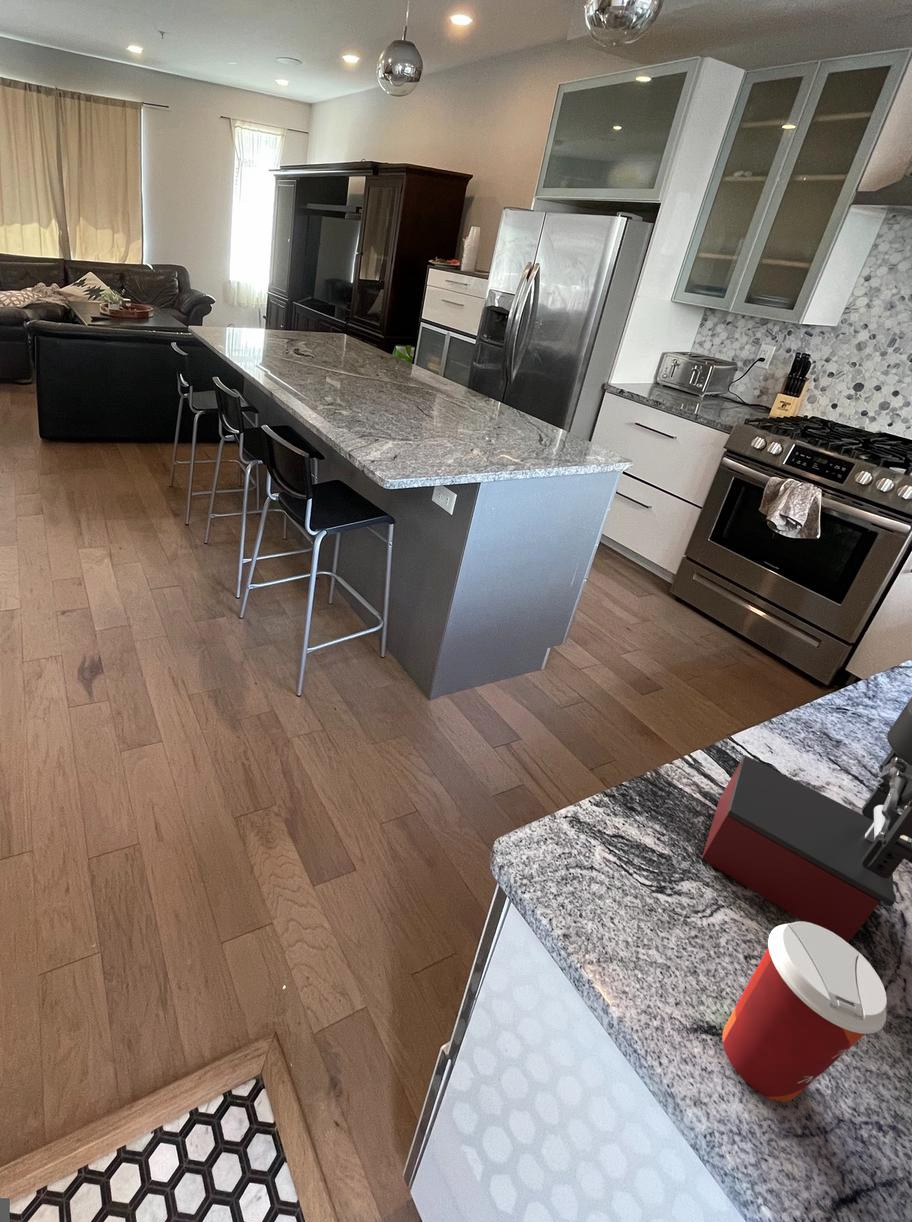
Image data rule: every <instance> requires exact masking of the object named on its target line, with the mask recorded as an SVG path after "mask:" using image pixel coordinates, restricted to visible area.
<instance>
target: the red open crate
mask: <svg viewBox="0 0 912 1222" xmlns="http://www.w3.org/2000/svg"><path fill="white" fill-rule="evenodd" d="M741 761H742V759H740V762H739V763H738V765H737V767H736V769H735V770H734V772H733V774H732V775H731V778H730V779H729V781H728V783H727V785H726V786H725V789H724V790H723V792H722V794H721V795H720V797H719V799H718V802H717V806H716V809H715V812H714V817H713V819H712V823H711V826H710V830H709V833H708V836H707V840H706V842H705V846H704V850H703V854H702V856H701V859H702V860H703V861H704V862H706V863H708V864H709V865H711V866H712V867H713V868H716V869H717V870H719V871H721V872H722V873H724V874H726V875H727V876H729V877H730V878H732V879H734V880H735V881H737V882H739V883H740V884H742V885H743V886H745V887H747V888H748V889H750V890H752V891H753V892H755V893H757V894H758V895H760V896H761V897H763V898H764V899H766V900H768V901H769V902H771V903H772V904H774V905H776V906H778V907H779V908H781V909H782V910H784V911H786V912H787V913H789V914H791V915H792V916H793V917H796V918H797V919H799V921H800V920H801V922H808V923H812V924H815V925H818V926H820V927H823V928H825V929H827V930H829V931H831V932H833V933H834V934H836V935H837V936H839V937H841V938H842V939H843V940H844V941H846V942H847V943H848V944H849V942H851V940H852V939H853V937H854V936H855V935H856V934H857V932H858V931H859V930H860V929H861V927H862V926H863V924H865V922H866V921H867V920H868V918H869V917H870V915H872V913H873V912H874V910H875V909H876V908H877V907H878V905H879V904H880V902H881V901H879V900H878V899H876V898H874V897H872V896H871V895H869V894H867V893H865V892H863V891H862V890H860V889H858V888H856V887H855V886H853V885H851V884H849V883H847V882H846V881H844V880H842V879H840V878H839V877H837V876H835V875H833V874H831V873H830V872H828V871H826V870H824V869H823V868H821V867H819V866H817V865H815V864H814V863H812V862H810V861H808V860H806V859H805V858H803V857H801V856H799V855H798V854H796V853H794V852H792V851H790V850H789V849H787V848H785V847H783V846H782V845H780V844H778V843H776V842H774V841H773V840H771V839H769V838H767V837H766V836H764V835H762V834H760V833H758V832H757V831H755V830H753V829H751V828H750V827H748V826H746V825H744V824H742V823H741V822H739V821H737V820H735V819H734V818H732V817H730V816H728V815H727V813H728V809H729V806H730V802H731V798H732V795H733V791H734V787H735V784H736V780H737V776H738V772H739V769H740V765H741Z"/></svg>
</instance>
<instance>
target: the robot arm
mask: <svg viewBox="0 0 912 1222" xmlns="http://www.w3.org/2000/svg"><path fill="white" fill-rule="evenodd" d="M886 739H887V742H888V745H889V746H890V749H891V750H890V752H889V753H888V754H887V755H886V756H885V758H884V760H883V761H882V762H881V763H880V764H879V766H878V768H879V769H878V772H879V773H881V774H880V775H879V776H878V777H877V778H876V779H875V781H876V783H875V784H876V787H875V788H874V789H873V791H872V792H871V794H870V795H869V797H868V799H867V800H866V801H865V803H864V804H863V805H862V808H861V814H862V815H864V816H865V817H867V818H869V819H871V820H873V821H874V808H875V807H876V806H878V805H884V806H883V809H882V814H883V816H884V817H885V822H884V824H883V827H882V829H881V831H880V832H879V834H878V837H877V838H876V840H875V841H874V842H873V844H872V845H871V847H870V848H869V849H868V851H867V852H866V853H865V855H864V856H863V858H862V865H863V867H864V868H866V869H868V870H870V871H871V872H873V873H875V874H877V875H879V876H880V877H883V878H889V877H890V876H891V875H892V874H893V875H894V872H895V871H896V870H897V869H898V867H899V866H900V865H901V863H902V862H903V860H905V861H907V862H909V863H910V864H912V696H911V697H910V699H909V701H908V702H906V705H905V706H904V708H902V710H901V712H900V714H899V715H898V717H896V720H895V721H894V723H893V724H892V725H891V727H890V729H888V732H887V734H886ZM898 809H899V810H902V813H899V812H898ZM902 836H905V837H907V840H906V839H904V838H903V837H902Z"/></svg>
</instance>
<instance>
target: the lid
mask: <svg viewBox="0 0 912 1222" xmlns="http://www.w3.org/2000/svg"><path fill="white" fill-rule="evenodd" d="M741 760H742V761H741ZM741 760H740V762H741V765H740V769H739V772H738V776H737V780H736V784H735V787H734V791H733V795H732V798H731V802H730V806H729V809H728V813H727V815H728V816H730V817H732V818H734V819H735V820H737V821H739V822H741V823H742V824H744V825H746V826H748V827H750V828H751V829H753V830H755V831H757V832H758V833H760V834H762V835H764V836H766V837H767V838H769V839H771V840H773V841H774V842H776V843H778V844H780V845H782V846H783V847H785V848H787V849H789V850H790V851H792V852H794V853H796V854H798V855H799V856H801V857H803V858H805V859H806V860H808V861H810V862H812V863H814V864H815V865H817V866H819V867H821V868H823V869H824V870H826V871H828V872H830V873H831V874H833V875H835V876H837V877H839V878H840V879H842V880H844V881H846V882H847V883H849V884H851V885H853V886H855V887H856V888H858V889H860V890H862V891H863V892H865V893H867V894H869V895H871V896H872V897H874V898H876V899H878V900H879V901H880V902H881V903H883V904H885V905H886V906H887V907H892V906H893V905H894V904H895V893H894V892H895V890H894V889H895V888H894V873H893V874H892V875H891V876H890V877H889V878H883V877H880V876H879V875H877V874H875V873H873V872H871V871H870V870H868V869H866V868H864V867H863V865H862V858H863V856H864V855H865V853H866V852H867V851H868V849H869V848H870V847H871V845H872V844H873V842H874V841H875V840H876V838H877V837H878V834H879V832H880V831H881V829H882V827H883V824H884V822H885V817H884V816H883V814H882V809H883V806H884V805H878V806H876V807H875V808H874V821H873V820H871V819H869V818H867V817H865V816H864V815H863V814H862V813H861V812H858V811H857V810H854V809H853V808H850V807H848V806H847V805H844V804H842V803H840V802H839V801H837V800H834V799H833V798H831V797H829V796H828V795H827V796H826V795H825V794H823V793H821V792H819V791H818V790H815V789H813V788H811V787H809V786H807V785H806V784H803V783H802V782H799V781H797V780H795V779H794V778H791V777H790V776H788V775H786V774H783V773H781V772H780V771H777V770H776V769H773V768H772V767H770V766H768V765H766V764H764V763H762V762H761V761H759V760H758V761H757V760H756V759H754V758H752V757H750V756H748V755H746V754H744V755H743V756H742V758H741Z"/></svg>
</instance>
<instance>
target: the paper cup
mask: <svg viewBox="0 0 912 1222" xmlns="http://www.w3.org/2000/svg"><path fill="white" fill-rule="evenodd" d="M749 979H750V980H749V981H748V983H747V985H746V986H745V989H744V990H743V992H742V994H741V996H740V998H739V999H738V1001H737V1003H736V1004H735V1007H734V1008H733V1011H732V1012H731V1014H730V1016H729V1018H728V1020H727V1022H726V1024H725V1025H724V1028H723V1030H722V1035H721V1036H722V1037H721V1038H722V1046H723V1048H724V1052H725V1054H726V1056H727V1059H728V1061H729V1062H730V1064H731V1066H732V1067H733V1069H734V1070H735V1071H736V1073H737V1074H738V1075H739V1076H740V1077H741V1079H742V1080H743V1081H744V1082H745V1083H746V1084H747V1085H748V1086H750V1087H751V1088H752V1089H753V1090H754V1091H755V1092H757V1093H758V1094H760V1095H762V1096H763V1097H765V1098H767V1099H769V1100H772V1101H775V1102H780V1103H781V1102H782V1103H785V1102H790V1101H791V1100H793V1099H794V1098H795V1097H797V1096H798V1095H799V1094H801V1092H803V1091H804V1090H805V1089H807V1088H808V1087H809V1086H810V1085H811V1084H812V1083H813V1082H814V1081H815V1080H816V1079H818V1078H819V1077H820V1076H821V1075H822V1074H823V1073H824V1072H826V1070H828V1069H829V1068H830V1067H831V1066H832V1065H834V1063H836V1061H838V1060H839V1059H840V1058H841V1057H842V1056H843V1055H844V1054H846V1052H848V1050H850V1049H851V1048H852V1047H853V1046H854V1045H855V1044H856V1043H858V1042H859V1041H860V1040H861V1039H862V1038H863V1037H864V1036H865V1035H866V1034H867V1035H869V1034H874V1033H877V1032H879V1031H881V1029H882V1028H883V1027H884V1026H885V1024H886V1021H887V1003H888V1002H887V1001H888V999H887V998H888V997H887V993H886V990H885V987H884V984H883V982H882V980H881V978H880V976H879V975H878V973H877V972H876V970H875V969H874V967H873V966H872V965H871V963H870V962H869V961H868V960H867V959H866V958H865V956H863V954H861V953H860V951H858V950H857V949H856V948H855V947H853V946H852V945H851V944H849V943H847V942H846V941H844V940H843V939H842V938H841V937H839V936H837V935H836V934H834V933H833V932H831V931H829V930H827V929H825V928H823V927H820V926H818V925H815V924H812V923H808V922H804V921H795V922H794V921H793V922H791V923H784V924H780V925H777V926H775V927H774V928H773V929H771V931H770V934H769V935H768V939H767V948H766V950H765V952H764V954H763V956H762V958H761V960H760V962H759V963H758V965H757V967H756V968H755V970H754V972H753V974H752V976H751V977H750V978H749Z"/></svg>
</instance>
